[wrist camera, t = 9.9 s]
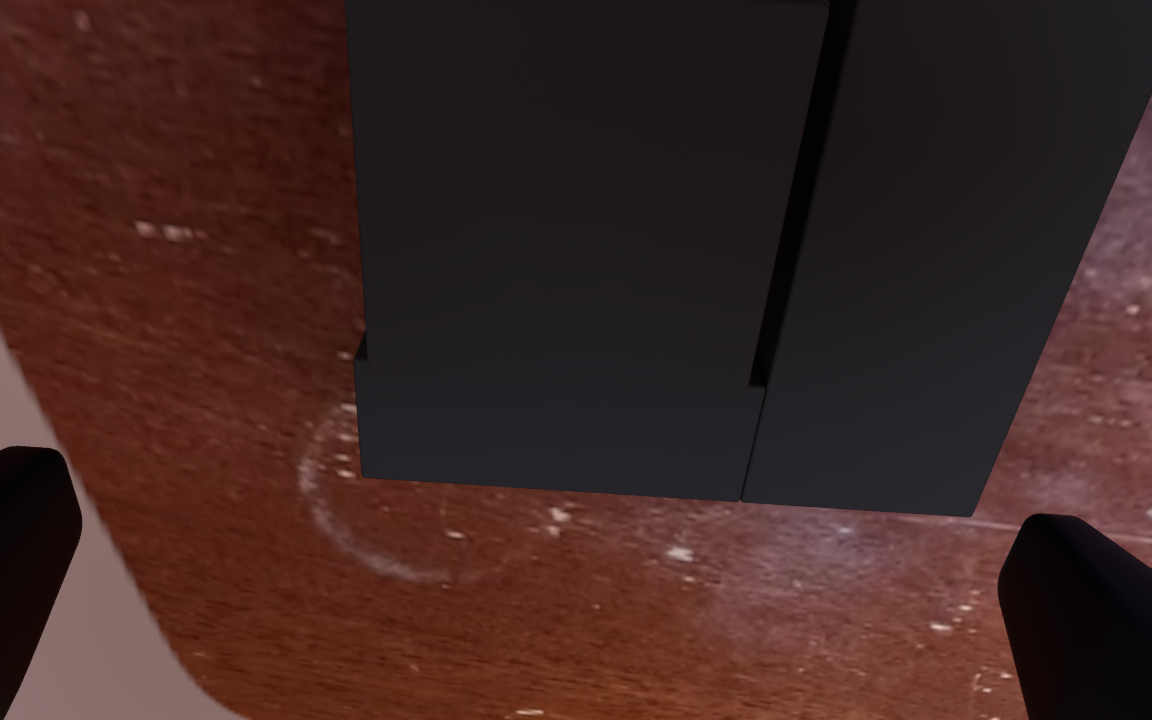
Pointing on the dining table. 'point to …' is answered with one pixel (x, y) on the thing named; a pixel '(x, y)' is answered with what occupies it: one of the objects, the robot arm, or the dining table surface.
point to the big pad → (853, 281)
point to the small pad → (575, 185)
